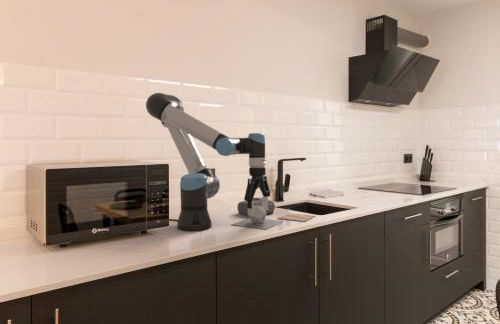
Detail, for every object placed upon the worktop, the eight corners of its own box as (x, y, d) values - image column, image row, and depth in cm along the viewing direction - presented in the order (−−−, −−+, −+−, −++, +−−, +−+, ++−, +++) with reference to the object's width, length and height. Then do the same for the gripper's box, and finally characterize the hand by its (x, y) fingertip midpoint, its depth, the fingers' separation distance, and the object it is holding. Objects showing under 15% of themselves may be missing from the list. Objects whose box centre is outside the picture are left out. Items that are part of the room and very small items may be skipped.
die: (260, 227, 167) (271, 208, 170) (244, 217, 168) (255, 199, 171) (260, 229, 175) (270, 212, 177) (244, 220, 176) (254, 202, 179)
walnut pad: (304, 222, 175) (304, 221, 175) (277, 218, 182) (277, 218, 182) (315, 216, 187) (315, 215, 187) (289, 213, 194) (289, 213, 194)
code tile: (265, 229, 161) (265, 229, 161) (230, 225, 170) (230, 224, 170) (283, 221, 176) (283, 221, 176) (250, 217, 185) (250, 217, 185)
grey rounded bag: (251, 218, 185) (281, 213, 198) (251, 201, 185) (281, 197, 197) (233, 213, 197) (262, 208, 209) (233, 197, 196) (262, 194, 209)
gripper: (250, 169, 159) (251, 218, 160) (276, 165, 180) (277, 208, 181) (235, 168, 163) (236, 217, 164) (263, 164, 184) (263, 207, 185)
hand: (258, 212), depth 173 cm, fingers open, 13 cm apart
